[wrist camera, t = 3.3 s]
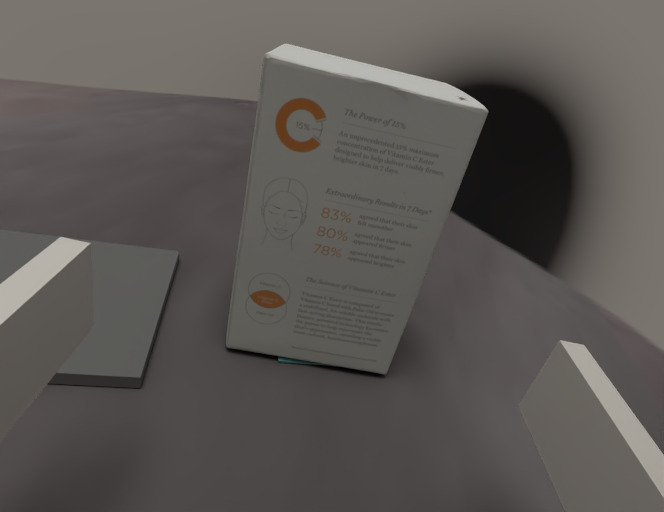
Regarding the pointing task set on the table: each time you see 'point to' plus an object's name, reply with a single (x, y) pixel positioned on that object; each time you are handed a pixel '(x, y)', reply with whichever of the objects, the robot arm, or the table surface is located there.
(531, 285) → the table surface
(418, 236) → the small box
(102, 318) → the gray slab
